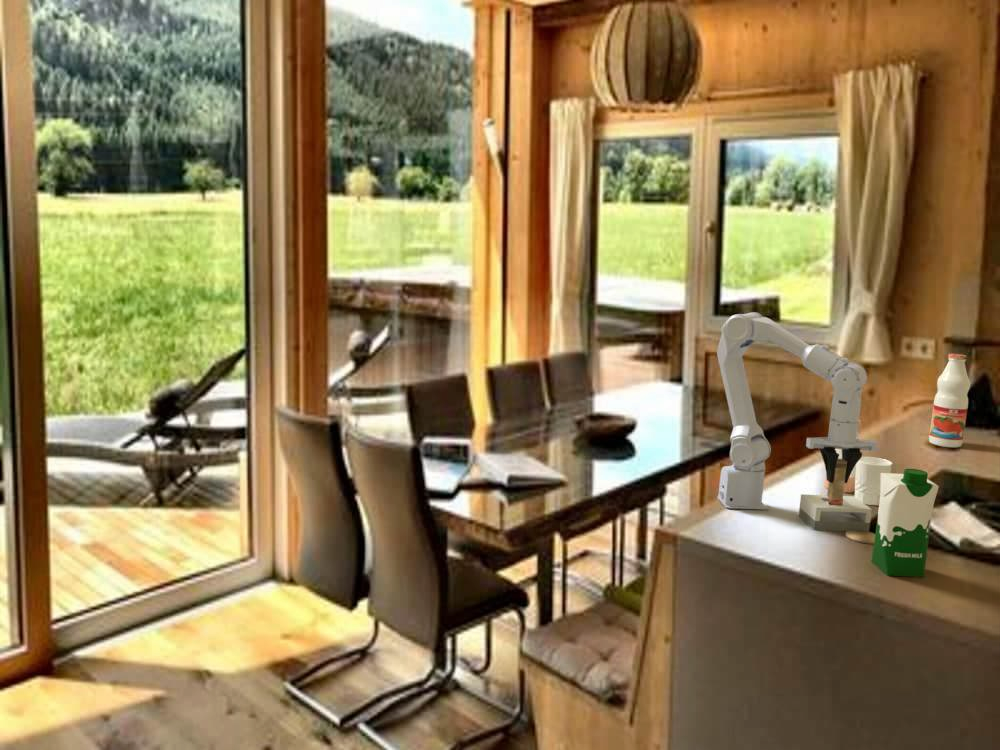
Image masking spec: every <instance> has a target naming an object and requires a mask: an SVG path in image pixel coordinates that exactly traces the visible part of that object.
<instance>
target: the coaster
mask: <svg viewBox="0 0 1000 750" xmlns="http://www.w3.org/2000/svg"><path fill="white" fill-rule="evenodd" d="M875 534H876V533H874V532H871V531H869V532H866V531H860V530H851V531H845V537H846V538H847V539H848V540H851V541H854V542H857V543H861V544H868V545H874V542H875Z"/></svg>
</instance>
